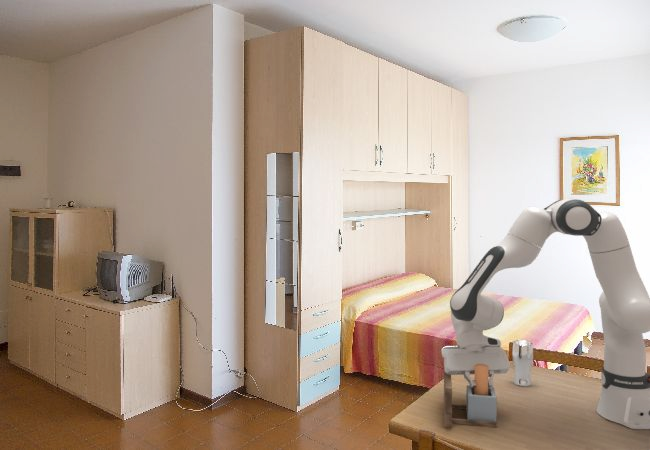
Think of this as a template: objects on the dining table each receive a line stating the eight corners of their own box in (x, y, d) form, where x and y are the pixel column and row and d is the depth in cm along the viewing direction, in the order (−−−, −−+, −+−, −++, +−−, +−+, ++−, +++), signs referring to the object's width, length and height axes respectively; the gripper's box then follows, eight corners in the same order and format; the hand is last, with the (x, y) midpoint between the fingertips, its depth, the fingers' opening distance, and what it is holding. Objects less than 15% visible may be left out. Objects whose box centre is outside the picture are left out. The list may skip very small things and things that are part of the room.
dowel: (487, 408, 156) (487, 364, 155) (488, 413, 152) (489, 368, 151) (473, 407, 157) (474, 363, 156) (474, 412, 153) (475, 367, 152)
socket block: (493, 412, 158) (493, 387, 158) (496, 424, 150) (496, 398, 150) (466, 409, 160) (466, 385, 159) (467, 421, 152) (468, 395, 151)
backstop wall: (491, 406, 163) (491, 370, 162) (498, 432, 145) (498, 392, 144) (443, 402, 166) (444, 366, 165) (444, 427, 149) (445, 388, 148)
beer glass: (514, 378, 186) (515, 338, 185) (534, 382, 182) (535, 341, 181) (509, 384, 181) (510, 343, 180) (529, 388, 177) (530, 346, 176)
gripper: (441, 341, 160) (450, 383, 151) (505, 340, 161) (517, 381, 152) (438, 350, 165) (446, 391, 156) (499, 349, 166) (511, 389, 156)
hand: (482, 386), depth 154 cm, fingers closed on dowel, 4 cm apart
